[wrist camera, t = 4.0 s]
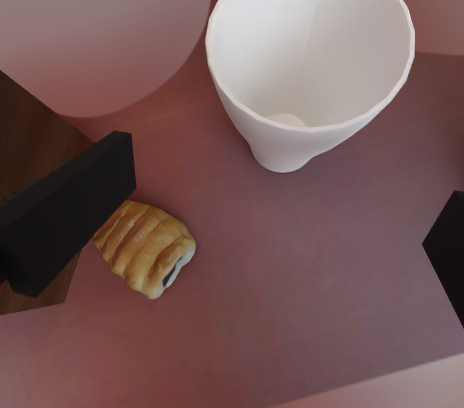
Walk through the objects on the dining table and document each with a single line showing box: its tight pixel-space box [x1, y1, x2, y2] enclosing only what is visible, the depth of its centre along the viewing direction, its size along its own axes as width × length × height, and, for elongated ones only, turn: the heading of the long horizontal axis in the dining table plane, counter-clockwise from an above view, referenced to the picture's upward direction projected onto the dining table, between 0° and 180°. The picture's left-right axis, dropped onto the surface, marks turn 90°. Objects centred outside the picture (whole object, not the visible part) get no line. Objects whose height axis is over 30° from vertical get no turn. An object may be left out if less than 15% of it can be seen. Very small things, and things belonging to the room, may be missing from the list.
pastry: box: [93, 200, 196, 299], centre depth 26 cm, size 9×7×4 cm
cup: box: [205, 0, 415, 173], centre depth 22 cm, size 10×10×14 cm
